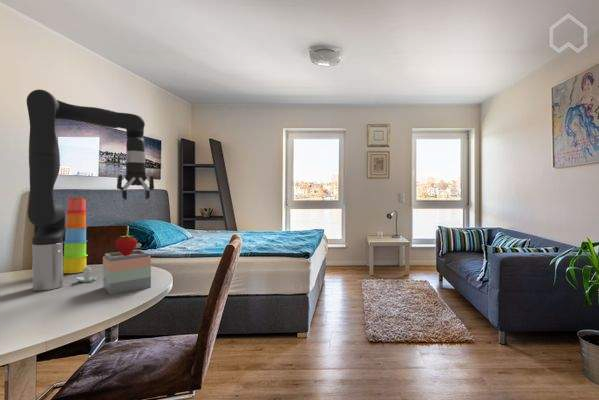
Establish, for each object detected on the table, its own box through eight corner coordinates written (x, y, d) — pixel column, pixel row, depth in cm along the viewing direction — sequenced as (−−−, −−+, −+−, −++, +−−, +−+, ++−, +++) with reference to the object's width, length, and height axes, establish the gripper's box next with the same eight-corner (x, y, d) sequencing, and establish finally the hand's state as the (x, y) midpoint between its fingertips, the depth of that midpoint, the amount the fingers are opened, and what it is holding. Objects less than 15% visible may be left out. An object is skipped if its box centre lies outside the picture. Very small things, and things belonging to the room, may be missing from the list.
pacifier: (77, 281, 132) (75, 284, 127) (77, 266, 132) (75, 268, 127) (98, 278, 136) (97, 281, 130) (98, 264, 136) (97, 266, 130)
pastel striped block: (109, 294, 113) (109, 258, 113) (103, 287, 122) (102, 253, 122) (150, 287, 123) (150, 253, 122) (142, 280, 132) (141, 249, 131)
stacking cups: (60, 271, 148) (59, 197, 147) (86, 267, 155) (85, 197, 154) (62, 275, 140) (61, 198, 140) (90, 271, 147) (89, 198, 146)
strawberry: (115, 256, 123) (115, 230, 123) (136, 254, 127) (136, 229, 126) (115, 258, 118) (115, 232, 118) (137, 257, 122) (137, 231, 121)
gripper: (150, 163, 144) (150, 199, 145) (115, 161, 135) (115, 199, 135) (155, 162, 139) (155, 199, 139) (119, 160, 129) (119, 199, 129)
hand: (136, 199), depth 137 cm, fingers open, 8 cm apart
